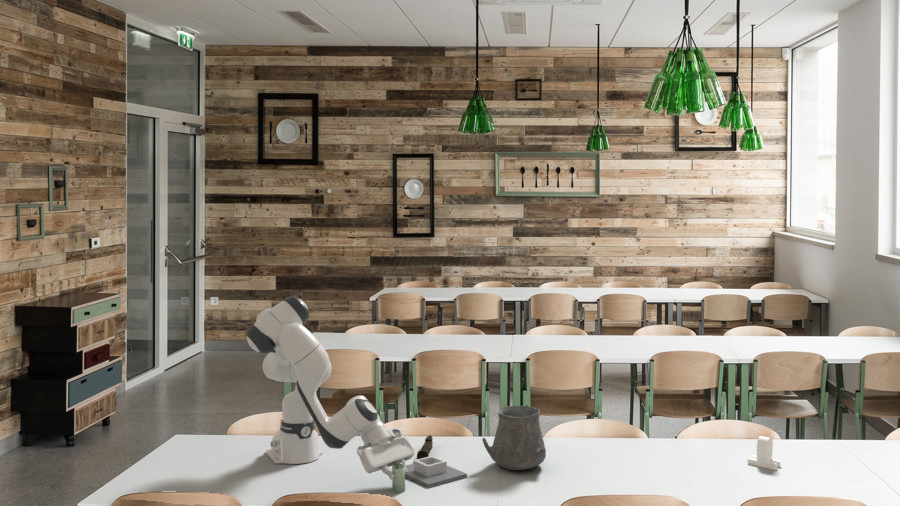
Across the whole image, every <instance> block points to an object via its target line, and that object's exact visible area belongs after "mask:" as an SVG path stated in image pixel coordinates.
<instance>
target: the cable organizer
mask: <svg viewBox="0 0 900 506" xmlns="http://www.w3.org/2000/svg"><path fill="white" fill-rule="evenodd" d="M773 443H774V442H773V439H772V437H768V436H762V435H760V436H758V438H757V442H756V455H754V454H753V455H751V457H747V465H750V466H755V467H759V468H764V469H768V470H769V469H770V470H774V471H775V470H777V469H778V468H781V460H779V459H775V458H773V450H774V449H773V445H774V444H773Z"/></svg>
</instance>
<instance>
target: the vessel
mask: <svg viewBox="0 0 900 506" xmlns="http://www.w3.org/2000/svg"><path fill="white" fill-rule="evenodd" d="M540 412H541V410H540V409H539V408H536V407H533V406H528V405H507V406H502V407H499V408H498V409H497V415H498V424H497V428H496V432H495V435H494V438H493V443H492V445H491V446H490V445H489V443H488V441H487V439H486V438H485V437H482V443H483V446H484V448H485V449H486V452H487V454H488V455H489V456H490V459H492V461H493V462H494V463H496V464H497V465H498V466H500V467H502V468H504V469H506V470H510V471H524V470H529V469H533V468H536V467H538V466H539V465H541V464H543V462H544V461H545V459H546V457H547V452H546V451H547V450H546V445H545V441H544V437H543V434H542V429H541V425H540V416H541V415H540Z"/></svg>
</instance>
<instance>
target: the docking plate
mask: <svg viewBox="0 0 900 506" xmlns="http://www.w3.org/2000/svg"><path fill="white" fill-rule="evenodd" d="M447 464H448V463H447V461H446V460H444V459H441V458H439V457H436V456H434V455H430V456H428V457H426V458H421V459H417V458H416V459H415V460H414V459H413V463H411V464H406V468H407V470H408V473H407V474H406V475H405V478H407V479H410V480H411V481H412V482H413V481H414V482H416V483H418V484H420V485H422V486H424V487H425V488H428V489H430V488H433V487H436V486H439V485H440V484H441V485H444V484H447V483H451V482H452V483H453V482H455V481H458V480H463V479H466V478H468V474H467V473H466V472H463V471H461V470H459V469H457V468H455V467H452V466H450V465H447ZM429 487H430V488H429Z"/></svg>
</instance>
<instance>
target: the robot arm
mask: <svg viewBox="0 0 900 506" xmlns="http://www.w3.org/2000/svg"><path fill="white" fill-rule="evenodd" d="M308 320H310V311H309V308H308V305H307V304H306V303H305V302H304V301H303V300H302V299H300V298H299V297H298V296H293V295H289V296H287V297H286V298H283V300H282V301H280V302H278V304H276V305H274V306H273V307H270V308H266V309H264V310H262V311H261V312H260V313H258V315H257V317H256V321H255V322H254V324H251V325H250V326H249V327H248V328H247V330H246V331H245V338H246V341H247V343H248V345H249V347H250V348H251V349H253V351H255V352H257V353H259V354H261V355H266V356H265V357H264V359H263V362H262V372H263V373H264V376H265V377H266V378H267V379H269V380H273V381H277V382H280V383H281V382H285V383H295V389H294V390H293V391H291V392H289V393H287V394H286V395H285V396H283V399H282V403H281V405H282V407H281V409H282V411H281V412H282V419H280V420H279V421H280V428H279V431H277V433H276V434H274V436H273V437H272V440H270V448H267V449H265V454H266V455H267V457H269V459H270V460H271V461H272V462H273V463H274V464H287V465H288V464H289V465H297V464H298V465H299V464H307V463H312V462H314V461H316V460H317V459H319V457H320V455H323V450H321V449H320V444H319V443H320V442H319V441H320V440H319V434H320V437H321V439H322V441H323V442H324V444H325V445H326V446H327V447H328V449H339V450H340V449H343V448H344V447H345V446H346V445H347V444H348V443H349V442H350V441H351V440H352V439H354V438H355V437H357V436H358V435H359V434H360V435H359V436H360V438H361V440H362V442H363V443H364V444H363V445H359V446H358V447H357V450H356V453H357V455H358V457H359V459H360V462H361V465H362V467H363V469H364V471H365V472H366V473H368V474H372V473H375V472H377V471H382V473H383V474H385V475H386V476H387V477H388V478H389V479H390V480H391V481H392V479H395V478H396V474H395V472H392V470H391V469H389V467H392V463H393V462H396V461H402V462H404V463H405V475H406V474H407V473H408V470H407V468H406V465H407V463H406V461H410V460H411V459H412V458H413V457H414V456H415V449H414V447H413V445H412V444H411V442H410V441H409V440H408V438H407V437H406V436H404V435H403V434H404V432H403V430H402V429H400V428H391V427H386V425H385V423H384V422H382V420H381V418H380V415H379V413H378V411H377V409H376V408H375V406H374V405H373V403H372V402H370V401H369V400H368V398H366V396H364V395H360V394H359V395H355V396H352V398H350V399H349V400H348V401H347V402H346V403H345V406H344V407H342V408H341V409H340V410H338V412H336V413H335V414H333V415H332V416H328V415H327V413H326V411H325V409H324V408H323V405H322V404H321V402H320V400H319V398H318V396H317V391H318V389H319V388H320V386H321V385H322V384H323V383H325V382H326V381H327V380H328V379H329V378H330V375H331V374H332V373H331V372H332V362H331V360H330V356H329V354H328V352H327V350H326V349H325V347H324V346H323V344H322V343H321V342H320V341H319V340H318V339H317V338H316V336H315V335H314V334H313V333H312V332H311V331H310V330H308V328H307V327H305V326H304V325H305V324H306V323H308ZM316 428H317V430H318V431H316V430H315V429H316ZM318 432H319V434H318Z"/></svg>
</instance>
